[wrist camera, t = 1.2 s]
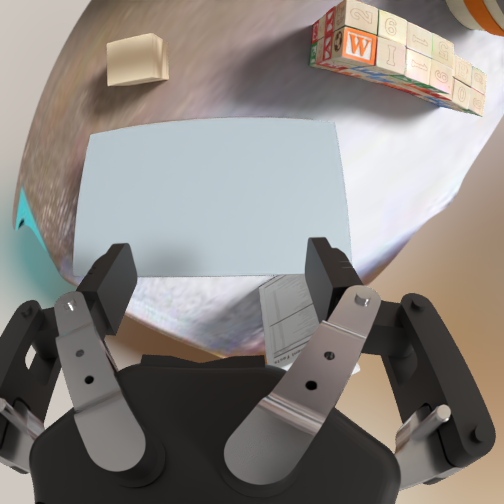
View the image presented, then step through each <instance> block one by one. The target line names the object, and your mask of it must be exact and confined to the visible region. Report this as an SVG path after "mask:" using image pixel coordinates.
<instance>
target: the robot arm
mask: <svg viewBox="0 0 504 504" xmlns="http://www.w3.org/2000/svg"><path fill="white" fill-rule="evenodd" d="M305 280H306V283H307V286H308V289H309V292H310V296H311V299H312V302H313V305H314V308H315V311H316V314H317V318H318V321H319V324H320V325H319V326H318V328H317V329H316V331H315V332H314V334H313V335H312V337H311V338H310V340H309V341H308V343H307V344H306V345H305V347H304V348H303V350H302V351H301V353H300V354H299V355H298V357H297V358H296V360H295V361H294V362H293V364H292V365H291V367H290V368H289V369H288V371H286V370H284V369H282V368H279V367H276V366H272V365H267V364H265V359H264V355H260V356H233V357H228V358H224V359H220V360H215V361H210V362H205V363H197V362H192V361H188V360H184V359H180V358H177V357H173V356H160V355H142V359H141V363H139V364H135V365H131V366H128V367H126V368H124V369H122V370H120V371H119V370H118V368H117V366H116V364H115V362H114V359H113V358H112V355H111V353H110V351H109V349H108V346H107V344H106V342H105V340H104V338H105V335H116V333H117V331H118V328H119V326H120V323H121V320H122V318H123V316H124V313H125V311H126V308H127V306H128V303H129V301H130V298H131V296H132V294H133V291H134V289H135V287H136V284H137V270H136V266H135V263H134V259H133V255H132V251H131V247H130V245H129V244H128V243H114V244H112V245H111V246H110V248H109V249H108V251H107V252H106V254H103V255H102V256H101V257H99V258H98V259H97V260H96V261H95V262H94V264H93V265H92V267H91V269H89V271H88V272H87V275H85V277H84V279H83V280H82V282H81V283H80V285H79V286H78V288H77V290H76V291H72V292H68V293H66V294H64V295H62V296H61V297H60V298H59V299H58V300H57V301H56V303H55V305H54V307H52V308H48V309H41V307H40V305H39V303H38V302H37V301H35V300H30V301H27V302H25V303H23V304H22V305H20V306H19V308H17V310H16V311H15V313H14V315H13V316H12V318H11V319H10V321H9V323H8V324H7V326H6V328H5V330H4V331H3V333H2V335H1V337H0V462H1V463H3V464H4V465H6V466H9V467H10V468H12V469H14V470H16V471H17V472H19V473H22V474H27V473H31V477H32V481H33V487H34V495H35V504H395V501H396V498H397V495H398V492H399V491H401V490H404V489H407V488H410V487H413V486H415V485H418V484H421V483H423V484H427V485H431V484H435V483H437V482H439V481H441V480H443V479H445V478H447V477H449V476H451V475H453V474H454V473H456V472H458V471H460V470H462V469H463V468H465V467H467V466H468V465H470V464H471V463H473V462H475V461H476V460H478V459H480V458H481V457H483V456H484V455H486V454H487V453H488V452H489V451H490V450H491V449H492V447H493V445H494V443H495V438H496V435H495V434H496V433H495V428H494V425H493V422H492V420H491V417H490V415H489V412H488V410H487V407H486V405H485V403H484V400H483V398H482V396H481V394H480V391H479V389H478V387H477V385H476V383H475V381H474V379H473V376H472V374H471V372H470V370H469V368H468V366H467V364H466V362H465V360H464V358H463V356H462V355H461V353H460V351H459V349H458V347H457V346H456V344H455V342H454V340H453V338H452V336H451V334H450V333H449V331H448V329H447V328H446V326H445V324H444V322H443V321H442V319H441V317H440V316H439V314H438V313H437V311H436V309H435V308H434V306H433V305H432V303H431V302H430V301H429V300H428V299H427V298H425V297H424V296H422V295H419V294H415V293H409V294H406V295H405V296H403V298H402V300H401V302H400V303H394V302H386V301H382V300H381V298H380V296H379V294H378V293H377V292H376V291H375V290H373V289H372V288H369V287H367V286H364V285H363V284H362V282H361V280H360V278H359V276H358V275H357V273H356V271H355V269H354V268H353V266H352V264H351V263H350V262H349V259H348V258H347V256H346V254H345V253H344V252H342V251H341V250H340V249H338V248H332V247H331V245H330V243H329V242H328V240H327V238H326V237H309V238H308V242H307V252H306V260H305ZM31 345H32V346H33V348H34V349H35V351H36V354H35V357H34V359H33V361H32V364H31V366H30V368H29V370H28V368H27V367H26V363H25V357H26V354H27V352H28V350H29V348H30V346H31ZM361 353H366V354H374V355H381V358H382V361H383V363H384V366H385V369H386V372H387V375H388V378H389V381H390V384H391V387H392V390H393V393H394V396H395V400H396V403H397V406H398V410H399V413H400V416H401V420H402V423H403V425H402V426H401V427H400V428H399V430H398V431H397V434H396V439H395V440H396V450H395V453H394V454H393V453H392V451H391V450H390V449H389V448H388V447H387V446H385V445H384V444H383V443H381V442H380V441H378V440H377V439H376V438H374V437H373V436H371V435H370V434H369V433H367V432H366V431H365V430H363V429H362V428H361V427H359V426H358V425H357V424H356V423H354V422H353V421H351V420H350V419H349V418H348V417H346V416H345V415H344V414H342V413H341V412H340V411H339V410H337V409H336V408H335V405H336V403H337V401H338V400H339V397H340V396H341V394H342V392H343V390H344V388H345V386H346V384H347V382H348V380H349V378H350V376H351V374H352V372H353V370H354V368H355V366H356V364H357V361H358V359H359V357H360V354H361ZM61 367H62V370H63V373H64V376H65V380H66V384H67V387H68V390H69V394H70V397H71V400H72V403H73V406H74V407H73V408H72V409H70V410H69V411H68V412H67V413H65V414H64V415H63V416H62V417H61V418H59V419H58V420H57V421H56V422H54V423H53V424H52V425H51V426H49V427H48V428H47V429H46V430H45V428H44V420H45V416H46V413H47V410H48V406H49V403H50V399H51V396H52V393H53V390H54V387H55V384H56V381H57V378H58V375H59V373H60V370H61Z"/></svg>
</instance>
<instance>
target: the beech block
mask: <svg viewBox="0 0 504 504" xmlns="http://www.w3.org/2000/svg"><path fill="white" fill-rule="evenodd" d="M162 80H169V73H168V43H167V42H166V41H164V40H162V39H161V38H159V37H158V36H156V35H154V34H153V33H150V34H144V35H140V36H135V37H130V38H126V39H122V40H118V41H114V42H111V43H107V82H108V86H131V85H137V84H142V83H148V82H155V81H162Z"/></svg>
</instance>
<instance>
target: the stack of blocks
mask: <svg viewBox="0 0 504 504" xmlns="http://www.w3.org/2000/svg"><path fill="white" fill-rule="evenodd" d="M453 53H454V44H453V43H451V42H449V41H447V40H446V39H444V38H442V37H440V36H438V35H436V34H434V33H431V32H429V31H427V30H425V29H423V28H421V27H419V26H417V25H415V24H413V23H410V22H407V20H405V19H403V18H400V17H398V16H396V15H393V14H391V13H388V12H386V11H383V10H380V9H377V8H376V7H373V6H370V5H368V4H365V3H362V2H359V1H355V0H344V1H342V2H341V3H340V4H338V5H337V6H334V7H333V8H331V9H330V10H329V11H328V12H327V13H326V14H325V15H324V16H323V17H322V18H321V19H319V20H318V21H316V22H315V23H314V24H313V31H312V42H311V54H310V63H309V66H311V67H316V68H321V69H326V70H331V71H333V72H337V73H341V74H345V75H349V76H353V77H357V78H360V79H364V80H367V81H371V82H374V83H380V84H383V85H386V86H389V87H392V88H396V89H399V90H402V91H405V92H408V93H410V94H412V95H413V96H416V97H418V98H421V99H423V100H426V101H429V102H431V103H434V104H436V105H438V106H441V107H444V108H449V109H453V110H456V111H460V112H464V113H471V114H475V115H478V116H481V117H482V116H483V109H484V102H485V90H486V78H487V75H486V74H485V73H483V72H482V71H480V70H478V69H477V68H475V67H474V66H472V65H471V64H470V63H468V62H466V61H465V60H463V59H461V58H460V57H458V56H456V55H455V54H453Z"/></svg>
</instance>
